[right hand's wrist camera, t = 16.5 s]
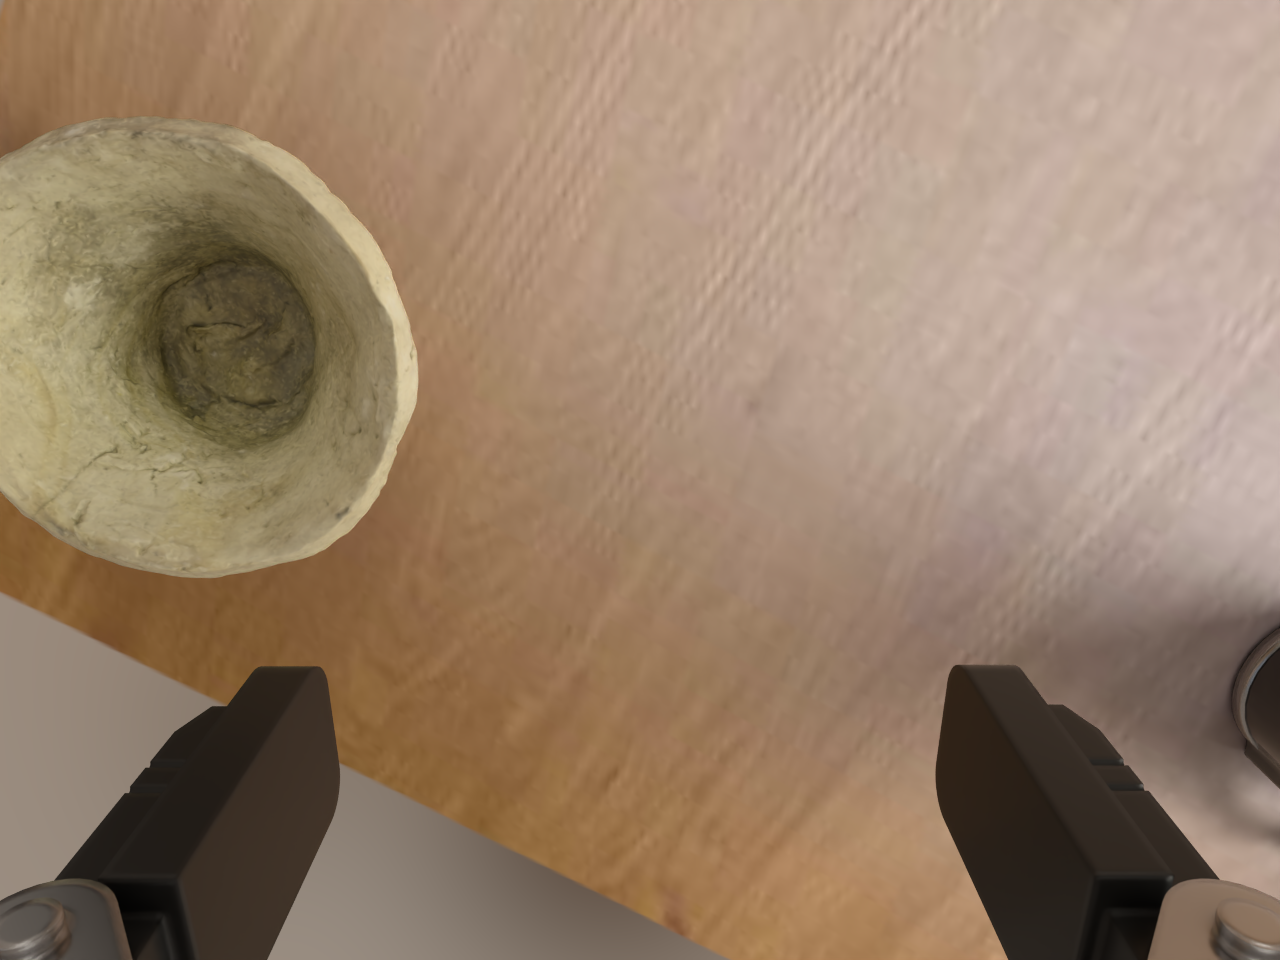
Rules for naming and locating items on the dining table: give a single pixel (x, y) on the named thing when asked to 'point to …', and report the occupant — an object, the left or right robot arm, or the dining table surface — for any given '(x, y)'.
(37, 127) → the dining table surface
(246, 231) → the bowl
